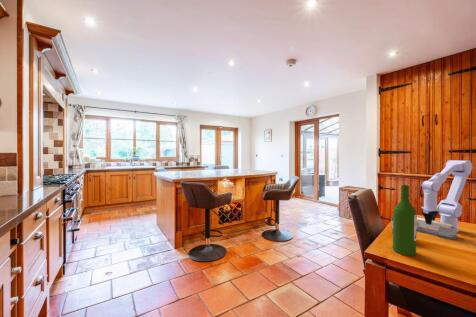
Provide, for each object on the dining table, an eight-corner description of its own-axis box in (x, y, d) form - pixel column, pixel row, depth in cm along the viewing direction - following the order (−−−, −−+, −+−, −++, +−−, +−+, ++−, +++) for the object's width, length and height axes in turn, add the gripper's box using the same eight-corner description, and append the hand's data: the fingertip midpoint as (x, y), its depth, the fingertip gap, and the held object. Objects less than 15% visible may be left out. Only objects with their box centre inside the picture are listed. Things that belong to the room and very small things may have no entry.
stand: (410, 225, 137) (410, 217, 137) (457, 237, 119) (457, 227, 118) (404, 228, 133) (405, 219, 133) (453, 240, 114) (453, 230, 114)
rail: (412, 222, 134) (412, 216, 134) (451, 231, 119) (451, 224, 119) (409, 223, 132) (410, 217, 132) (449, 232, 117) (449, 225, 117)
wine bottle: (417, 258, 96) (419, 187, 95) (393, 253, 100) (394, 185, 100) (414, 250, 103) (415, 184, 102) (391, 246, 108) (392, 183, 107)
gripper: (426, 198, 133) (425, 219, 133) (417, 201, 125) (416, 223, 125) (441, 200, 127) (440, 222, 127) (432, 203, 119) (432, 227, 119)
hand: (429, 223), depth 126 cm, fingers closed on rail, 4 cm apart
